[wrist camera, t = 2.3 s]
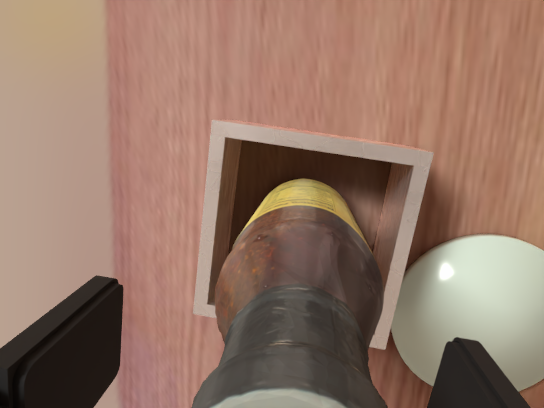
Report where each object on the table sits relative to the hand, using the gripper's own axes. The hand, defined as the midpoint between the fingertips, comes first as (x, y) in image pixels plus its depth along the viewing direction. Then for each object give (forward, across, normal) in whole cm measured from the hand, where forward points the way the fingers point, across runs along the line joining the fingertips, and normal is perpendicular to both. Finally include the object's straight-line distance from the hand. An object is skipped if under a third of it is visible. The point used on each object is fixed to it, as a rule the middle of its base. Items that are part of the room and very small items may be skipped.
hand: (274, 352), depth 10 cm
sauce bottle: (+16, -1, 0) cm, 16 cm away
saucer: (+15, -14, +5) cm, 21 cm away
